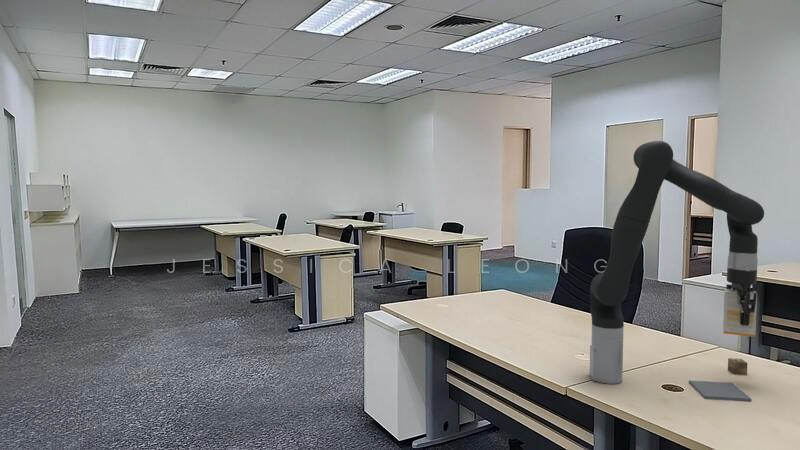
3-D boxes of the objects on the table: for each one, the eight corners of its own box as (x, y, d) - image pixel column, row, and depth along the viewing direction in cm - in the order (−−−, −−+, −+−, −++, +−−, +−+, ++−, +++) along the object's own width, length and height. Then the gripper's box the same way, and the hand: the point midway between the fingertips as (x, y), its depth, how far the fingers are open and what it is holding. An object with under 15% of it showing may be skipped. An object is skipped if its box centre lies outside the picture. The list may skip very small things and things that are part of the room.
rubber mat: (704, 398, 148) (704, 396, 148) (689, 383, 160) (689, 380, 160) (751, 401, 146) (751, 398, 146) (731, 385, 158) (732, 382, 158)
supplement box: (754, 333, 158) (757, 291, 157) (755, 337, 154) (757, 294, 153) (722, 329, 162) (724, 288, 161) (722, 333, 158) (724, 290, 157)
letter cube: (733, 374, 167) (733, 361, 167) (727, 370, 171) (728, 357, 170) (746, 375, 166) (747, 362, 166) (741, 370, 170) (741, 357, 170)
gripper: (718, 263, 164) (715, 315, 165) (739, 270, 150) (736, 328, 151) (744, 264, 163) (741, 316, 164) (768, 271, 149) (765, 329, 150)
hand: (739, 322), depth 158 cm, fingers closed on supplement box, 6 cm apart
